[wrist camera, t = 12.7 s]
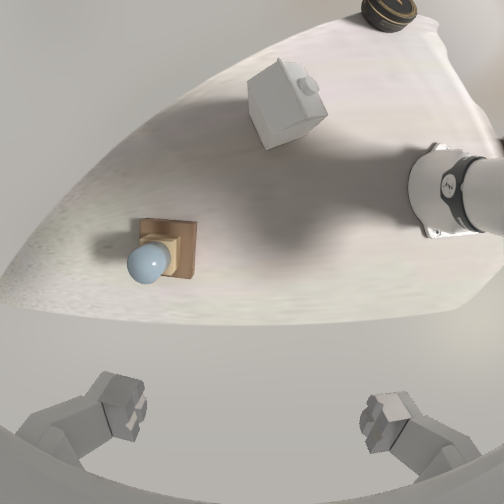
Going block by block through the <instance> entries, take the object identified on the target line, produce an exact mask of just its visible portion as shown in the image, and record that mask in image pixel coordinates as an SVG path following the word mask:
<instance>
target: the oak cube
mask: <svg viewBox="0 0 504 504" xmlns="http://www.w3.org/2000/svg"><path fill="white" fill-rule="evenodd" d="M150 241H159V242H161V243H163V244H164V245H166V246H167V248H168V249H169V251H170V254H171V263H170V265H169V267H168V268H167V269H166V270H165V271H164V272H163V273H162V275H170V276H171V275H172V274H173V273H174V272H175V270H176V269H177V268H178V267H179V259H180V236H177V235H166V234H155V233H151V234H149V235H147V236H145V237H143V238H141V239H140V247H141V246H143V245H144V244H146V243H148V242H150Z"/></svg>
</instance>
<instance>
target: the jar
mask: <svg viewBox="0 0 504 504" xmlns="http://www.w3.org/2000/svg"><path fill="white" fill-rule="evenodd" d="M361 10H362V13H363V15H364V17H365V18H366V20H367V21H368V22H369V23H370V24H371V25H373V26H374V27H375V28H377V29H379V30H382V31H385V32H390V33H393V32H397V31H400V30H402V29H403V28H404V27H405V26H407V25H408V24H409V23H411V22H412V21H413V19H414V18H415V17H416V15H417V8H416V5H415V3H414V2H413V0H363V1H362V6H361Z"/></svg>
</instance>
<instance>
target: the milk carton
mask: <svg viewBox="0 0 504 504" xmlns="http://www.w3.org/2000/svg"><path fill="white" fill-rule="evenodd" d="M247 85H248V104H249V114H250V117H251V119H252V121H253V123H254V126H255V128H256V130H257V132H258V134H259V137H260V139H261V141H262V144H263V146H264V148H265V150H268V149H271V148H274V147H276V146H279V145H282V144H284V143H287V142H290V141H292V140H295V139H298V138H301V137H304V136H306V135H307V134H308V133H309V132H310V131H311V130H312V129H313V128H314V127H315V126H317V125H318V124H319V123H320V122H321V121H322V120H323V119H324V118H325V117H326V116H327V115H328V113H327V111H326V109H325V107H324V104H323V102H322V100H321V98H320V96H319V94H318V91H319V86H318V84H317V82H316V81H315V80H314V79H313V78H312V77H310V76H309V74H308V72H307V70H306V69H305V67H304V65H303V64H302V63H292V62H282V61H281V59H280V58H278V59H277V62H276V63H274V64H273V65H271V66H269V67H268V68H266V69H265V70H263V71H262V72H260V73H259V74H257V75H256V76H254V77H253V78H251V79H250V80H248V81H247Z"/></svg>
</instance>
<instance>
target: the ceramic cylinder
mask: <svg viewBox="0 0 504 504" xmlns="http://www.w3.org/2000/svg"><path fill="white" fill-rule="evenodd" d="M170 263H171V254H170V251H169V249H168V248H167V246H166V245H164V244H163V243H161V242H159V241H150V242H148V243H146V244H144V245H143V246H141V247H139V248H138V249H136V250H134V251H133V252H132V253H131V254H130V255H129V257H128V260H127V268H128V271H129V274H130V275H131V277H132V278H133V279H134V280H135V281H137V282H139V283H141V284H150V283H153V282H154V281H156V279H157V278H158V277H159V276H160V275H161V274H162V273H163V272H164V271H165V270H166V269H167V268H168V267H169V265H170Z"/></svg>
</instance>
